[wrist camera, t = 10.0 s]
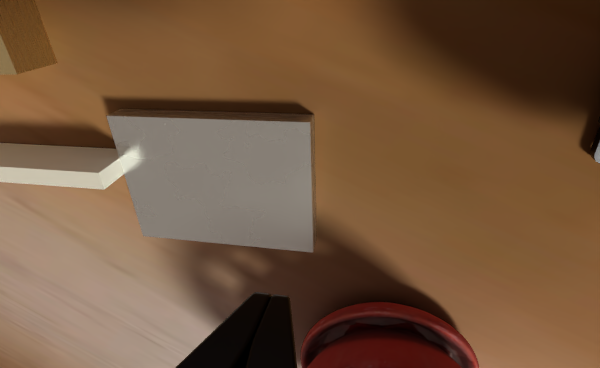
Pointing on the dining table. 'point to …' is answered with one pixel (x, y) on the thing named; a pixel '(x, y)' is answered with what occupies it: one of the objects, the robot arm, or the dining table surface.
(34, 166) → the tray
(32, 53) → the tan block
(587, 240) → the dining table surface
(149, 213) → the plate
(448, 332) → the plant pot
